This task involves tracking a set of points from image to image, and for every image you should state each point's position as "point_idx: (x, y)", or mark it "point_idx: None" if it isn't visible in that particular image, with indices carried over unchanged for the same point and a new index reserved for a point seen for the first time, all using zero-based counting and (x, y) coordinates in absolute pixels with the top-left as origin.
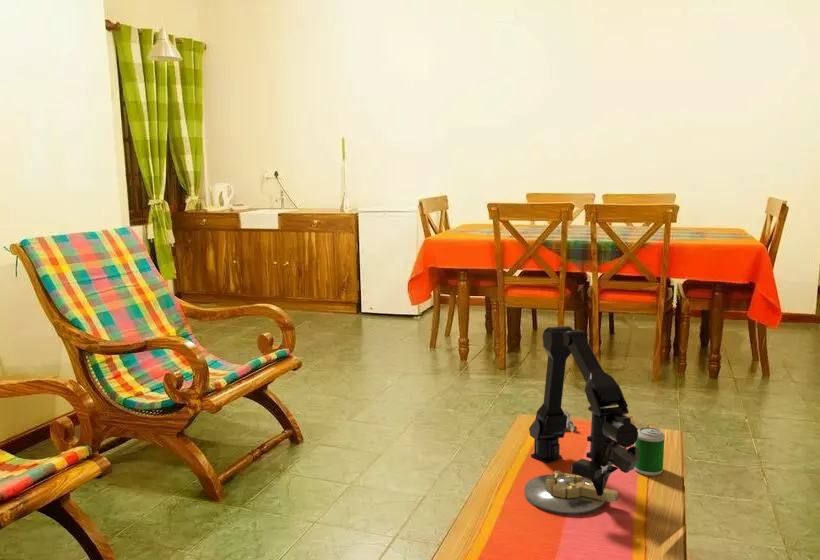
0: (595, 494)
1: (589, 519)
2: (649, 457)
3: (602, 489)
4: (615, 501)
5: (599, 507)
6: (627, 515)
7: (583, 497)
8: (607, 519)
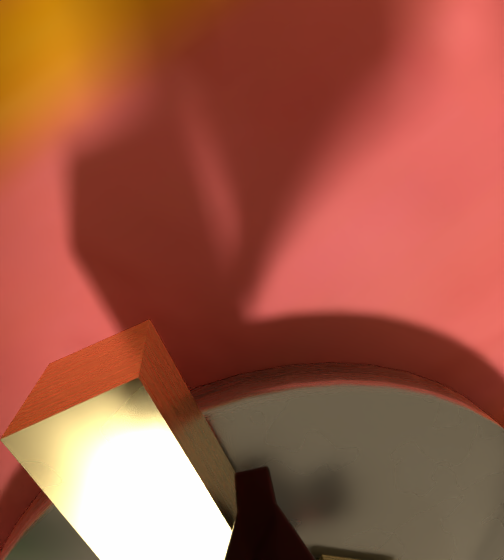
0: None
1: (453, 304)
2: None
3: (287, 538)
4: (146, 328)
5: (264, 381)
6: (137, 145)
7: None
8: (356, 218)
